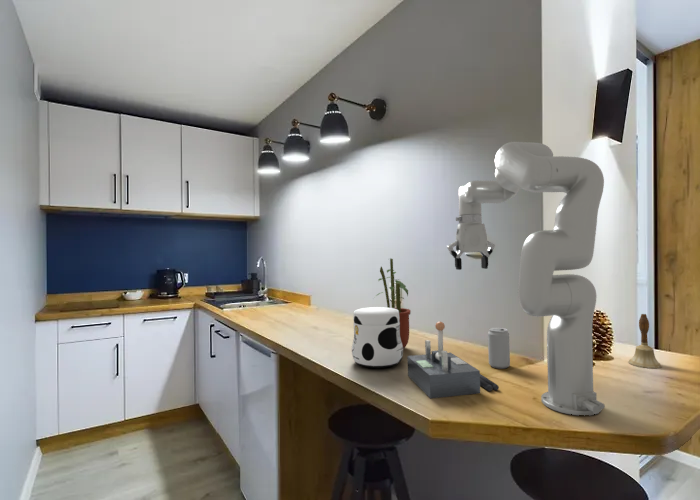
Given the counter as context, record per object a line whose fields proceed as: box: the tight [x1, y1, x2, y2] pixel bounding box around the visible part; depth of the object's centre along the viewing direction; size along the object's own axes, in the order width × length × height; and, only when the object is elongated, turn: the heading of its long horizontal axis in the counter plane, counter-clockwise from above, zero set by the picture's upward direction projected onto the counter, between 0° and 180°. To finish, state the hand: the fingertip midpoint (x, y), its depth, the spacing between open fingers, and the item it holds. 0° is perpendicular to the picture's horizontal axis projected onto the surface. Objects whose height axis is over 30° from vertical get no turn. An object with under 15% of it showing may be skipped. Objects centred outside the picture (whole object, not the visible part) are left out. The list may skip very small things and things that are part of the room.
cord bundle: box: [480, 373, 499, 392], centre depth 111 cm, size 18×3×2 cm, turn 10°
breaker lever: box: [434, 321, 446, 361], centre depth 109 cm, size 4×3×11 cm, turn 10°
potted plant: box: [372, 257, 412, 350], centre depth 149 cm, size 17×16×35 cm
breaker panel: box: [407, 339, 481, 399], centre depth 109 cm, size 18×14×11 cm
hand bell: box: [628, 313, 662, 370], centre depth 121 cm, size 8×8×16 cm
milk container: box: [351, 306, 404, 369], centre depth 130 cm, size 17×17×18 cm
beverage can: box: [487, 327, 511, 370], centre depth 123 cm, size 6×6×12 cm
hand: (471, 268), depth 135 cm, fingers open, 9 cm apart
